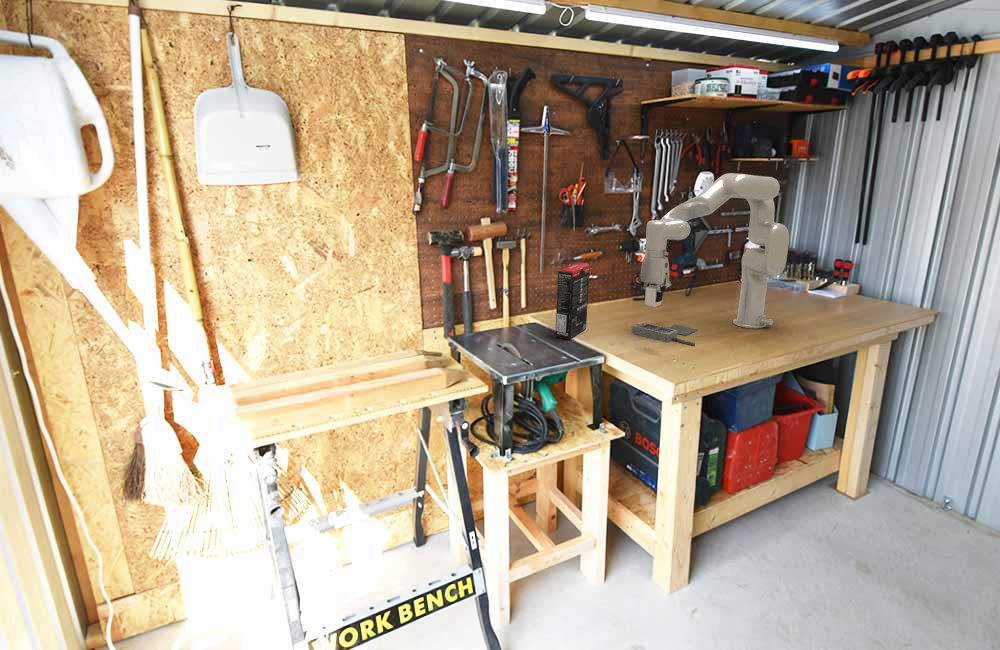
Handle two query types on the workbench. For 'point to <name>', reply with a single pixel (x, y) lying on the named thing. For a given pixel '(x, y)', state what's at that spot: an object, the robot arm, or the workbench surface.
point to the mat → (683, 329)
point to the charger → (651, 296)
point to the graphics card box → (572, 300)
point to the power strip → (658, 333)
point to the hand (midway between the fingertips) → (652, 299)
